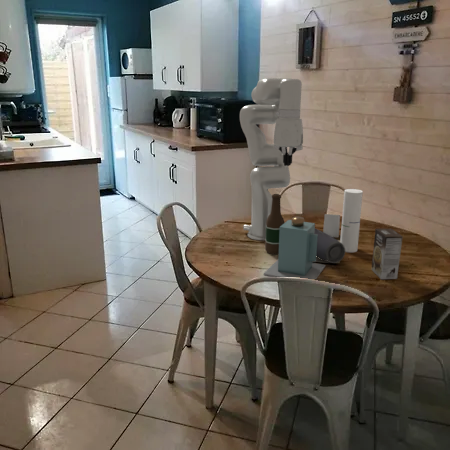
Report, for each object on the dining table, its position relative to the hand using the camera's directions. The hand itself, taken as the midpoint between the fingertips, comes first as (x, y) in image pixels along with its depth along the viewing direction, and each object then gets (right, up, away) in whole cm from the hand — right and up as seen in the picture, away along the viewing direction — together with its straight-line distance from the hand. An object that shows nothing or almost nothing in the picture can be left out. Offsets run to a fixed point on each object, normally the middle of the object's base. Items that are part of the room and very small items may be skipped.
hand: (287, 165), depth 171 cm
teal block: (+3, -39, -1) cm, 39 cm away
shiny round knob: (+3, -35, -2) cm, 35 cm away
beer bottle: (-3, -33, +19) cm, 38 cm away
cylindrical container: (+28, -33, +21) cm, 48 cm away
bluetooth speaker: (+15, -35, +14) cm, 40 cm away
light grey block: (+25, -27, +39) cm, 54 cm away
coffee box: (+35, -40, -4) cm, 53 cm away
